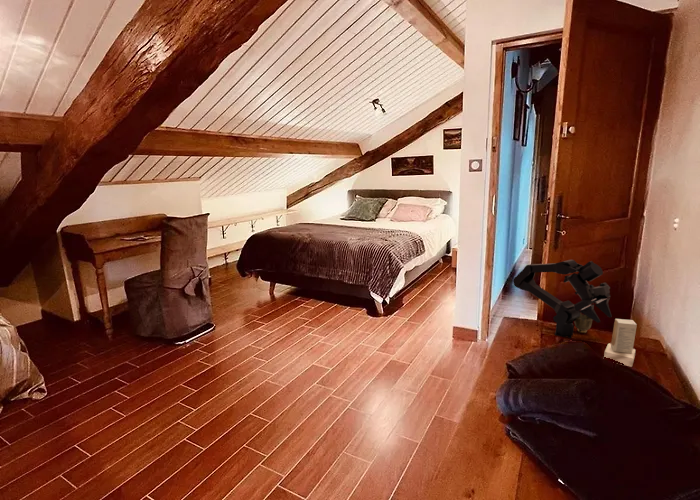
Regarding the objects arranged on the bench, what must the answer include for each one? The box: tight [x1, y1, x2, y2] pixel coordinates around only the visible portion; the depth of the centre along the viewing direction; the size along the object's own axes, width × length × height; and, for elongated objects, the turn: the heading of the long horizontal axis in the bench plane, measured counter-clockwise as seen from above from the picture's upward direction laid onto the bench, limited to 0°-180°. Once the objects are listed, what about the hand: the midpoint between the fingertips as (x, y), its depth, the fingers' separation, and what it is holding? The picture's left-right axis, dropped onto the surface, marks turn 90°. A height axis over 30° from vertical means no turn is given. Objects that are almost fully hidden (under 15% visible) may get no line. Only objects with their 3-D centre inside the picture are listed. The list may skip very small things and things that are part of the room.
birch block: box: [603, 343, 636, 368], centre depth 152 cm, size 9×9×4 cm
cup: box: [573, 312, 594, 334], centre depth 176 cm, size 8×7×8 cm
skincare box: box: [610, 318, 638, 353], centre depth 150 cm, size 6×4×12 cm
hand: (605, 319), depth 159 cm, fingers open, 9 cm apart
